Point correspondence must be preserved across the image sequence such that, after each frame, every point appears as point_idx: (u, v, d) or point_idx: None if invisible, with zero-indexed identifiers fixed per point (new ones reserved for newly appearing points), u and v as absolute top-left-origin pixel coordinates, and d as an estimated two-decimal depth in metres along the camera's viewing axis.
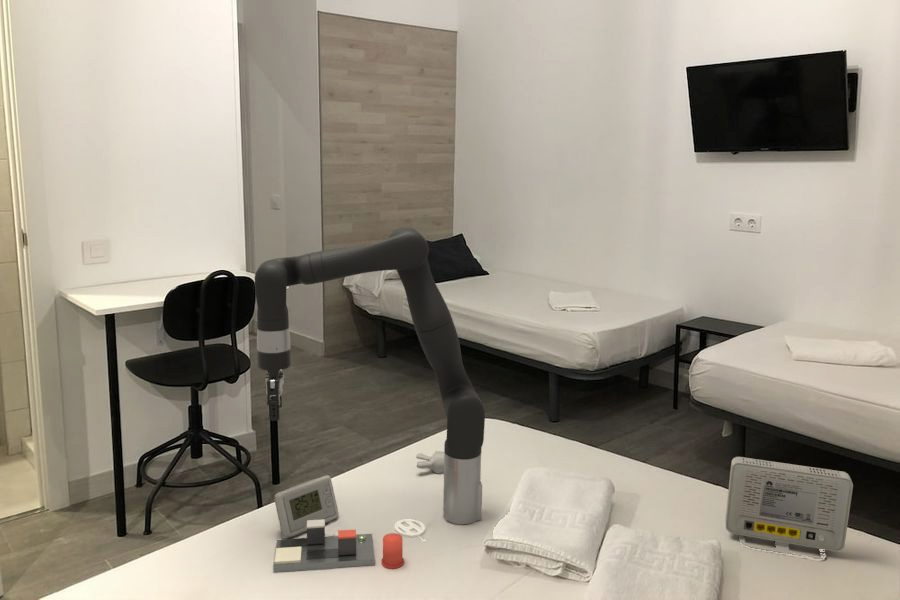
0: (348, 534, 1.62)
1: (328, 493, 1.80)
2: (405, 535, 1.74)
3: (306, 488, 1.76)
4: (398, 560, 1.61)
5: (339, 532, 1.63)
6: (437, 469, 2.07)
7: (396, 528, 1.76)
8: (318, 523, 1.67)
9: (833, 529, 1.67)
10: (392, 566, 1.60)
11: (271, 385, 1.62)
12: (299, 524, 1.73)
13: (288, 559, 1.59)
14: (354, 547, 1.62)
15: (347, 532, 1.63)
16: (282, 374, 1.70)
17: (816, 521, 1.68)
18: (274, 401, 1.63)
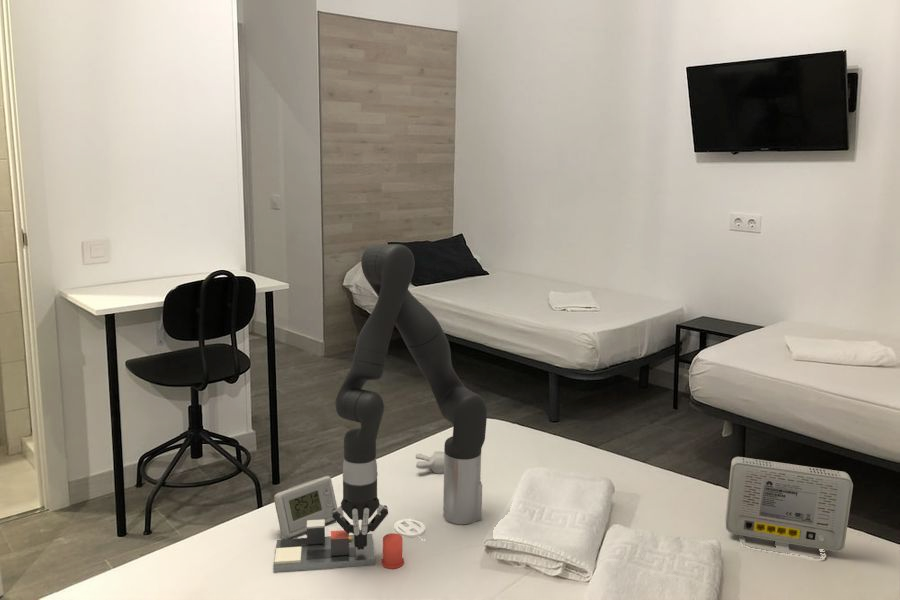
0: (341, 534, 1.62)
1: (328, 494, 1.80)
2: (405, 535, 1.74)
3: (306, 489, 1.76)
4: (398, 560, 1.61)
5: (332, 532, 1.63)
6: (437, 469, 2.07)
7: (396, 528, 1.76)
8: (318, 523, 1.67)
9: (833, 529, 1.67)
10: (392, 566, 1.60)
11: None
12: (299, 525, 1.73)
13: (288, 559, 1.59)
14: (347, 547, 1.62)
15: (340, 532, 1.63)
16: None
17: (816, 521, 1.68)
18: None
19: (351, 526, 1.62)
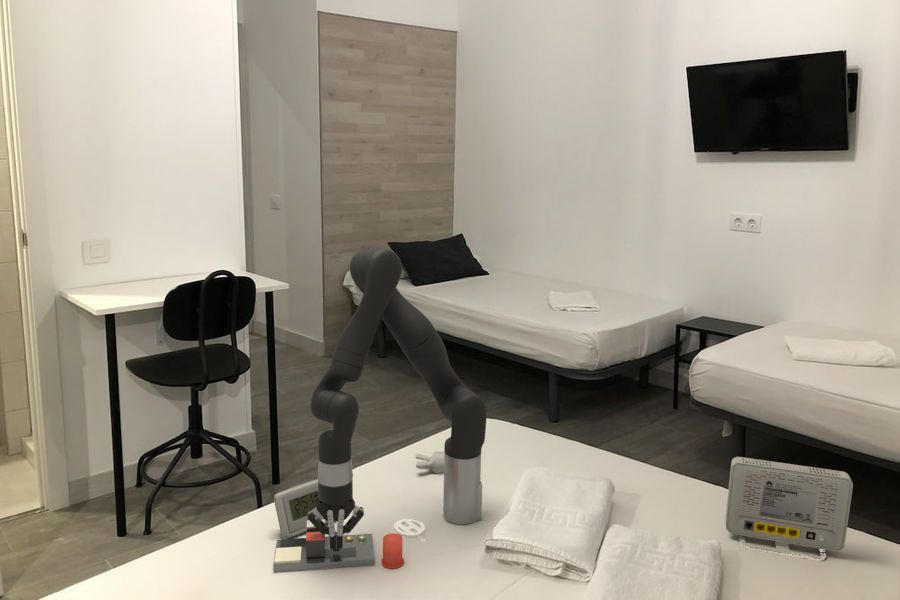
0: (316, 536, 1.61)
1: None
2: (405, 535, 1.74)
3: (306, 489, 1.76)
4: (398, 560, 1.61)
5: (307, 534, 1.62)
6: (436, 469, 2.07)
7: (396, 528, 1.76)
8: None
9: (833, 529, 1.67)
10: (392, 566, 1.60)
11: None
12: (298, 525, 1.73)
13: (288, 559, 1.59)
14: (322, 549, 1.61)
15: (315, 534, 1.62)
16: None
17: (816, 521, 1.68)
18: None
19: (326, 527, 1.61)
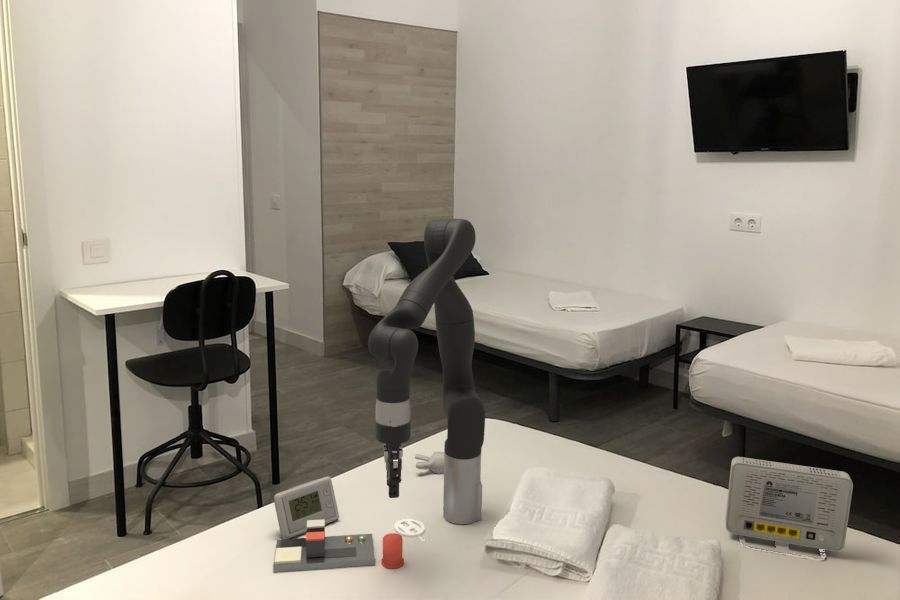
0: (316, 536, 1.61)
1: (328, 494, 1.79)
2: (405, 535, 1.74)
3: (306, 489, 1.76)
4: (398, 560, 1.61)
5: (307, 534, 1.62)
6: (436, 469, 2.07)
7: (396, 528, 1.76)
8: (318, 523, 1.67)
9: (833, 529, 1.67)
10: (392, 566, 1.60)
11: None
12: (298, 525, 1.73)
13: (288, 559, 1.59)
14: (322, 549, 1.61)
15: (315, 534, 1.62)
16: None
17: (816, 521, 1.68)
18: None
19: None
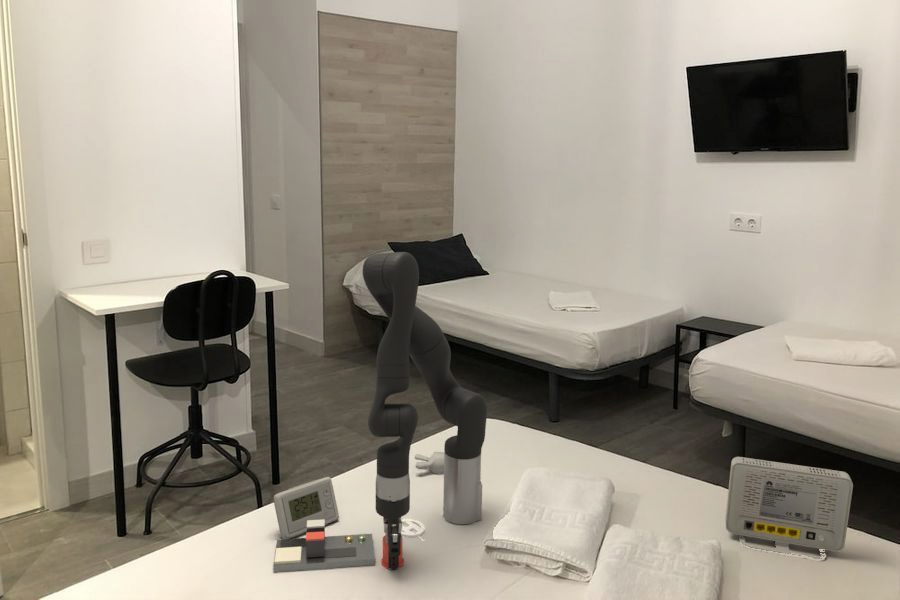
0: (316, 536, 1.61)
1: (328, 495, 1.79)
2: (404, 535, 1.74)
3: (306, 489, 1.76)
4: None
5: (307, 534, 1.62)
6: (436, 470, 2.07)
7: None
8: (318, 523, 1.67)
9: (833, 529, 1.67)
10: None
11: None
12: (298, 525, 1.73)
13: (288, 559, 1.59)
14: (322, 549, 1.61)
15: (315, 534, 1.62)
16: (385, 521, 1.59)
17: (816, 521, 1.68)
18: None
19: None
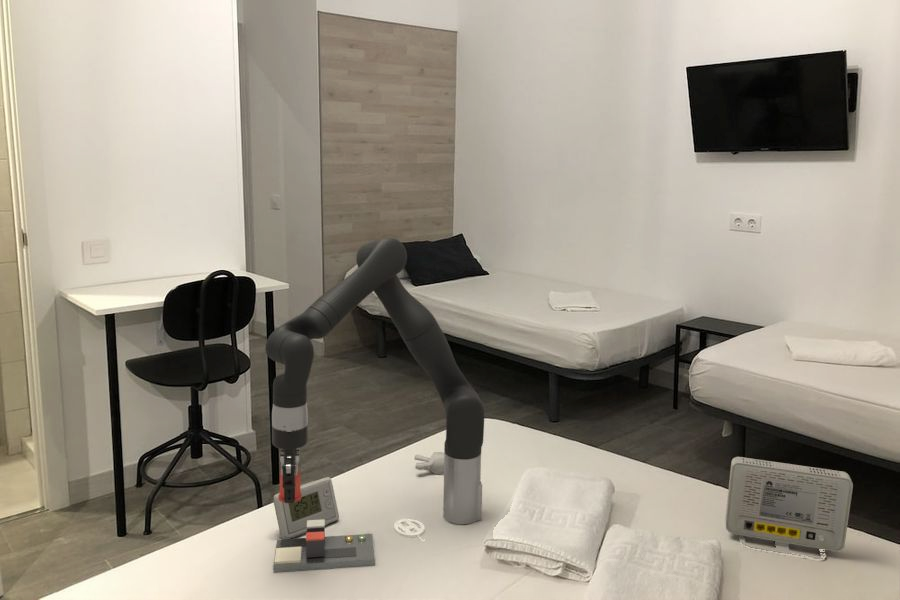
0: (316, 536, 1.61)
1: (328, 495, 1.79)
2: (404, 535, 1.74)
3: (306, 490, 1.75)
4: (295, 494, 1.57)
5: (307, 534, 1.62)
6: (436, 470, 2.07)
7: (395, 528, 1.76)
8: (318, 523, 1.67)
9: (833, 529, 1.67)
10: None
11: None
12: (298, 526, 1.72)
13: (288, 559, 1.59)
14: (322, 549, 1.61)
15: (315, 534, 1.62)
16: None
17: (816, 521, 1.68)
18: None
19: None
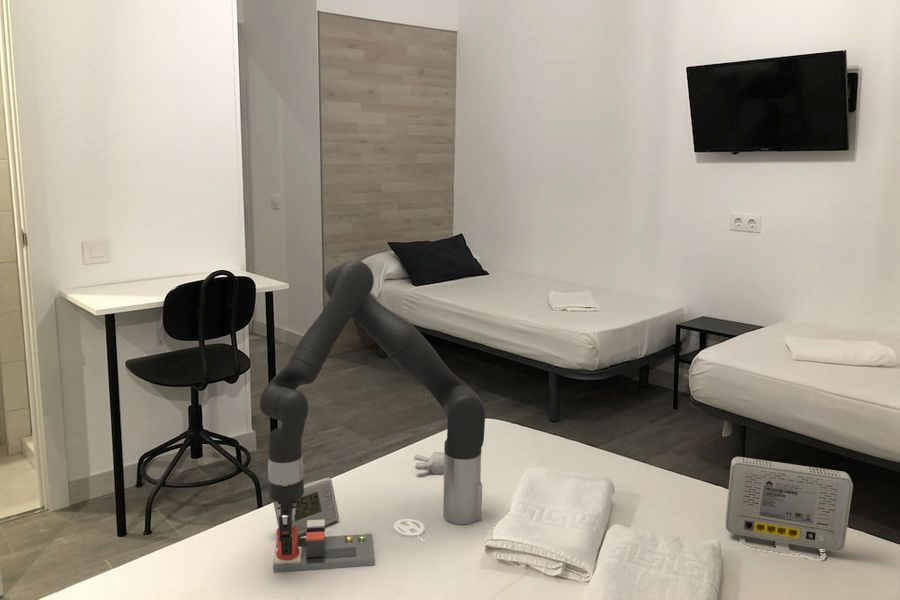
0: (316, 536, 1.61)
1: (328, 495, 1.79)
2: (404, 535, 1.74)
3: (305, 490, 1.75)
4: (292, 551, 1.60)
5: (307, 534, 1.62)
6: (436, 470, 2.07)
7: (395, 528, 1.77)
8: (318, 523, 1.67)
9: (833, 529, 1.67)
10: (286, 557, 1.59)
11: None
12: (297, 526, 1.72)
13: None
14: (322, 549, 1.61)
15: (315, 534, 1.62)
16: None
17: (816, 521, 1.68)
18: None
19: None
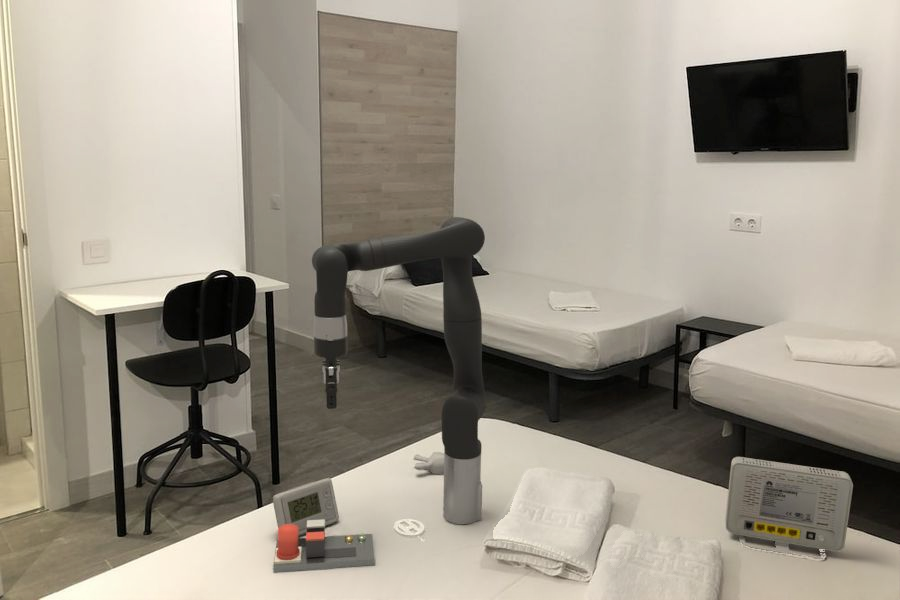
0: (316, 536, 1.61)
1: (328, 496, 1.79)
2: (404, 535, 1.74)
3: (305, 490, 1.75)
4: (291, 551, 1.59)
5: (307, 534, 1.62)
6: (435, 470, 2.07)
7: (395, 528, 1.77)
8: (318, 523, 1.67)
9: (833, 529, 1.67)
10: (284, 556, 1.59)
11: None
12: None
13: (288, 559, 1.59)
14: (322, 549, 1.61)
15: (315, 534, 1.62)
16: None
17: (816, 521, 1.68)
18: None
19: None
